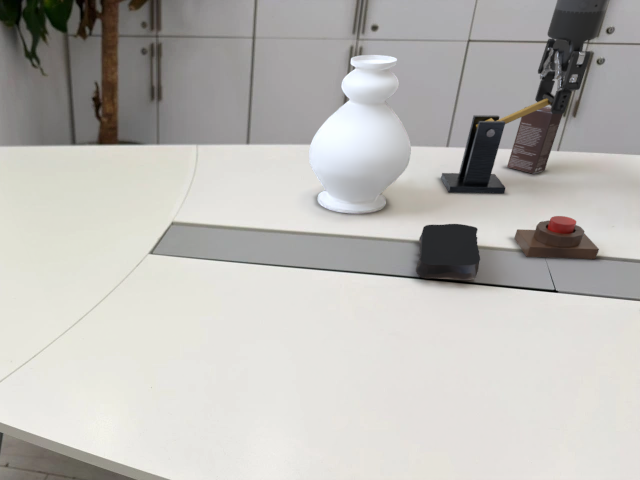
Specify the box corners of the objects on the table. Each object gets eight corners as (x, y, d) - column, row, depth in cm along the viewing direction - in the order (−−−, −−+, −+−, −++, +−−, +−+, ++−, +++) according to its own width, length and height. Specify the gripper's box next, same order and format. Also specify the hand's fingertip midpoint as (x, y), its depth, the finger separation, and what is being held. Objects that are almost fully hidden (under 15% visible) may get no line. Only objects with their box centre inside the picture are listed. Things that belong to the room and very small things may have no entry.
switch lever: (553, 100, 124) (550, 88, 123) (562, 107, 120) (559, 94, 119) (477, 134, 130) (473, 122, 129) (483, 141, 126) (480, 130, 125)
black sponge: (475, 289, 99) (482, 266, 97) (414, 281, 102) (419, 259, 99) (472, 245, 111) (478, 224, 109) (417, 239, 114) (422, 218, 112)
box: (545, 170, 139) (565, 109, 132) (532, 175, 137) (552, 113, 130) (518, 163, 143) (536, 103, 136) (505, 167, 141) (522, 107, 134)
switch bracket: (493, 179, 135) (511, 113, 128) (504, 193, 129) (524, 124, 122) (440, 178, 137) (456, 113, 130) (448, 192, 131) (465, 124, 123)
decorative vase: (287, 192, 134) (301, 55, 119) (366, 180, 138) (389, 46, 123) (333, 225, 120) (355, 74, 105) (420, 211, 124) (453, 63, 109)
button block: (579, 240, 111) (586, 220, 109) (595, 259, 105) (603, 238, 103) (513, 238, 113) (520, 218, 111) (526, 256, 107) (533, 236, 105)
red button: (568, 226, 108) (571, 216, 107) (576, 235, 105) (580, 224, 104) (543, 225, 109) (547, 215, 108) (551, 234, 106) (554, 224, 105)
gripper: (622, 12, 107) (585, 118, 117) (589, 0, 118) (557, 98, 128) (571, 13, 108) (538, 117, 118) (543, 1, 120) (515, 98, 129)
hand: (548, 107), depth 123 cm, fingers open, 8 cm apart
